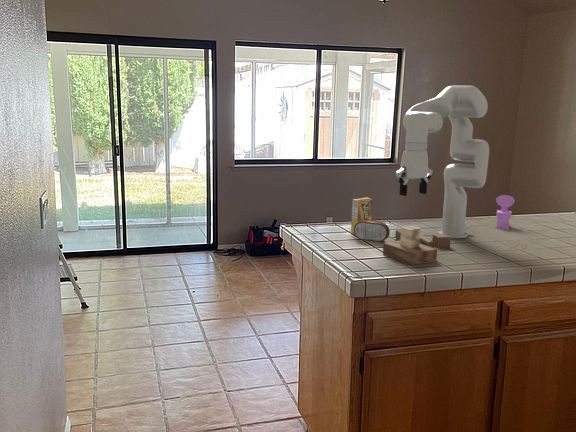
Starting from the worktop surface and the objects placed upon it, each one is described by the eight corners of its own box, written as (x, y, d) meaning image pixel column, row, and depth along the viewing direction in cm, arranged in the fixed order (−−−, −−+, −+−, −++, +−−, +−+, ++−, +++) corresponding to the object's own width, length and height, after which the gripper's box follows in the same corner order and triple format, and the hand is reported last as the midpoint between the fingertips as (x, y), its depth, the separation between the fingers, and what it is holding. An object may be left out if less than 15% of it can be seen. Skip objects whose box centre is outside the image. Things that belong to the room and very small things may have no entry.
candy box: (364, 230, 246) (365, 197, 243) (371, 232, 243) (372, 198, 240) (350, 233, 240) (351, 199, 237) (357, 234, 237) (359, 200, 234)
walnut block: (406, 251, 214) (407, 239, 213) (436, 262, 200) (437, 249, 199) (382, 255, 208) (383, 242, 207) (411, 266, 194) (412, 253, 193)
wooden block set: (412, 236, 214) (395, 226, 231) (412, 250, 215) (394, 239, 232) (452, 235, 217) (431, 225, 234) (451, 248, 218) (430, 238, 236)
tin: (389, 241, 227) (390, 222, 225) (387, 243, 224) (388, 223, 222) (354, 237, 233) (355, 218, 231) (352, 239, 230) (353, 219, 228)
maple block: (409, 243, 206) (410, 225, 205) (419, 246, 202) (420, 228, 201) (400, 245, 203) (401, 227, 202) (409, 248, 199) (411, 229, 198)
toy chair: (492, 227, 255) (495, 196, 252) (493, 224, 263) (496, 193, 260) (511, 229, 252) (515, 198, 249) (512, 225, 260) (515, 195, 257)
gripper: (425, 145, 203) (422, 191, 206) (390, 147, 194) (388, 194, 197) (440, 147, 196) (437, 194, 200) (405, 149, 188) (402, 197, 191)
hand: (412, 194), depth 199 cm, fingers open, 9 cm apart
